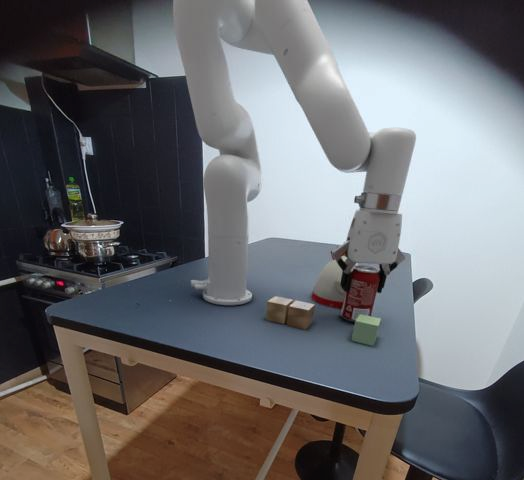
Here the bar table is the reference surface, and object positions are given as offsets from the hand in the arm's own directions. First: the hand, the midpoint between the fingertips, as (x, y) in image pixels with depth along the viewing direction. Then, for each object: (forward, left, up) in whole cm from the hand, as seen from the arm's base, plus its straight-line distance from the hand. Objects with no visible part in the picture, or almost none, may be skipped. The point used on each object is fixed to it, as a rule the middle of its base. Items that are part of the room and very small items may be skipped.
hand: (361, 289), depth 71 cm
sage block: (-2, -11, -7) cm, 13 cm away
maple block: (-18, -1, -7) cm, 20 cm away
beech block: (-14, -4, -7) cm, 16 cm away
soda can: (0, 0, -7) cm, 7 cm away
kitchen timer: (0, +14, -7) cm, 16 cm away
